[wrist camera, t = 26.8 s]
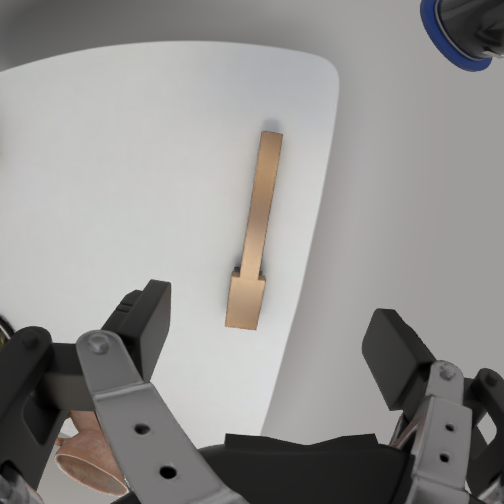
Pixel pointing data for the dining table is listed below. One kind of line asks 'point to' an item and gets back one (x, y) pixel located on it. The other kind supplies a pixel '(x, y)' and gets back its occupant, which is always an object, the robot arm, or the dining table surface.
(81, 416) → the ceramic jug
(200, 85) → the dining table surface
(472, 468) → the robot arm
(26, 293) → the dining table surface
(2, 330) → the salad plate
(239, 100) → the dining table surface
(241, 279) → the brush
